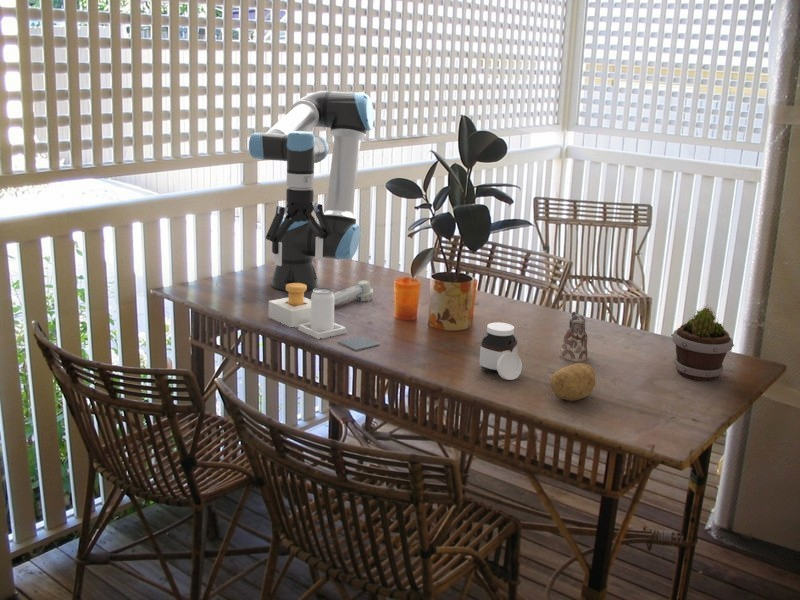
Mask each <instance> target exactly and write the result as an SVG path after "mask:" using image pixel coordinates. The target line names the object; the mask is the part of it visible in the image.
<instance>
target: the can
mask: <svg viewBox="0 0 800 600" xmlns="http://www.w3.org/2000/svg"><path fill="white" fill-rule="evenodd" d="M333 293H334V290H333V289H331V288H329V287H328V288H327V287H316V288H314V289H312V293H311V295H310V296H311V297H310V300H311V328H310V329H312V330H314V331H316V332H318V333H321V332H325V331H330V330H334V323H335V306H334V294H333Z"/></svg>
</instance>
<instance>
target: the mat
mask: <svg viewBox="0 0 800 600" xmlns="http://www.w3.org/2000/svg"><path fill="white" fill-rule="evenodd" d="M337 343H338V344H339V345H342V346H343V347H345V348H346V347H347V348H348V349H350V350H353V351H355V352H357V351H358V350H359V351H362V350H365V349H366V350H367V349H371V348H375V347H379V346H380V343H378V342H375V341H373V340H371V339H369V338H368V337H364V336H363V335H359V336H356V337H351V338H347V339H342V340H338V341H337Z"/></svg>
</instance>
